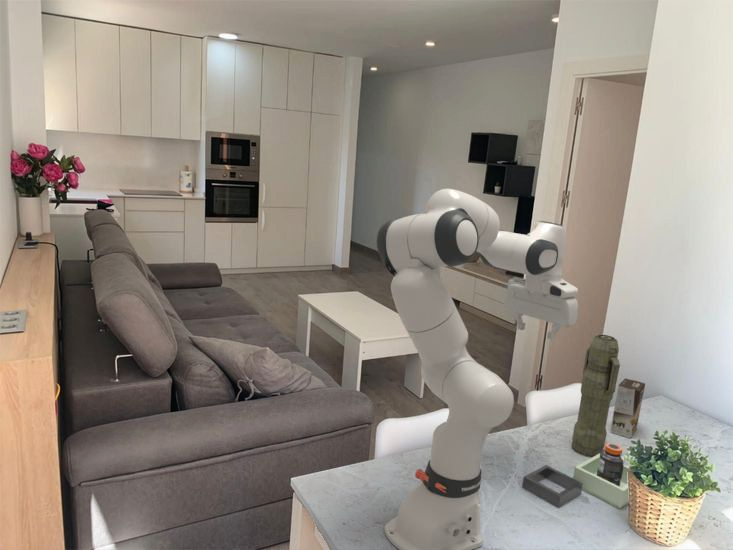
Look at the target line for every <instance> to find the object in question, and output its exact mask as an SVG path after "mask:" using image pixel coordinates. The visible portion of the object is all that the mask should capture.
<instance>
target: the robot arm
mask: <svg viewBox="0 0 733 550" xmlns="http://www.w3.org/2000/svg"><path fill="white" fill-rule="evenodd" d="M500 225H501V223H500V217H499V215H498V213H497V212H496V211H495V209H494V208H492V207H491V206H490V205H489V204H488V203H486V202H485V201H483V200H481V199H480V198H477V197H475V196H474V195H471V194H469V193H466V192H464V191H461V190H457V189H453V188H442V189H439V190H438V191H436V192H434V193H433V194H432V195H431V196H430V198H429V199H428V201H427V202H426V205H425V210H424V213H417V214H412V215H407V216H403V217H395V218H393V219H391V220H388V221H386V222H385V223H383V224H382V225H381V226H380V227H379V230H378V231H377V235H376V236H377V237H376V248H377V253H378V255H379V258H380V260H381V262H382V263H383V265H384V267H385V269H386V271H387V272H388V273H389V274H390V275H392V276H393V278H392V280H391V284H390V292H391V296H392V300H393V302H394V304H395V305H394V306H395V309H396V311H397V313H398V315H399V318H400V320H401V322H402V324H403V326H404V328H405V330H406V332H407V335H408V336H409V338H410V340H411V342H412V344H413V345H414V347H415V349H416V351H417V353H418V356H419V358H420V361H421V366H420V367H421V368H420V375H421V378H422V380H423V381H424V383H425V384H426V385H427V388H429V389H430V391H431V392H432V394H434V395H435V396H436V397H438V398H439V399H440V400H441V401H442V402H444V403H445V404H446V405H447V406H448V416H447V418H446V421H444V422H443V423H440V424H439V425H438V426H436V427H435V429H434V430H433V433H432V442H431V450H430V459H429V461H428V462H427V465H426V466H425V470H424V471H423V469H420V468H417V470H416V471H415V474H414V477H415V478H416V479H419V480H420V482H419V483H418V484H417V485H416V486H415V488H414V489H413V490H412V491H411V492H410V493H409V495H407V497H406V498H405V499H404V500H403V501H402V503H401V504H399V508H398V510H397V513H396V516H395V517H394V518H392V519H391V520H389V522H387V523H385V525H384V528H383V531H384V534H385V536H386V538H387V539H388V540H389V541H390V542H391V544H392V545H393V546H394V547H395V548H397V550H474V549H478V548H480V547H482V546H483V537H482V535H481V511H482V510H481V503H480V501H481V500H480V497H479V490H480V489H481V484H482V478H483V477H482V468H481V465H482V460H483V459H482V457H483V452H484V446H485V442H486V439H487V437H488V434H489V433H490V431H491V430H492V429H493V428H496V427H498V426H501V425H502V424H503V423H505V421H506V420H508V418H509V417H510V415H511V413H512V411H513V408H514V405H515V399H514V398H515V397H514V393H513V391H512V390H511V388H510V387H509V386H508V385H507V384H506V382H505V381H504V380H503V379H502V378H501V377H500V376H499V375H498V374H496V373H495V372H494V371H491V370H490V369H488V368H486V367H485V366H483V365H482V364H480V363H479V362H477V361H476V360H475V359H474V358H473V357H472V356H471V354H470V353H469V352H468V349H467V347H466V345H467V343H468V341H469V333H468V330H467V327H466V325H465V323H464V321H463V319H462V317H461V315H460V313H459V311H458V308H457V306H456V304H455V302H454V300H453V298H452V296H451V294H450V292H449V291H448V289H447V287H446V286H445V285H444V283H443V281H442V280H441V274H440V269H441V268H445V267H458V266H461V265H464V264H467V263H468V262H470V261H471V260H472V259H473V257H474V255H475V254H478V257H479V258H480V259H481V261H482V262H483V264H485V266H487V267H490V268H497V269H502V270H506V271H509V272H510V271H511V272H514V273H519V274H523V275H525V278H520V277H517V276H513V277H512V278H510V279H509V280H508V282H507V289H506V292H505V295H504V296H505V297H504V302H503V306H504V309H505V310H506V311H511V312H514V319H515V321H516V329H517V330H521V331H524V330H525V328H526V323H525V322H523V321H524V320H523V316H527V317H530V318H534V319H536V320H540V321H544V322H547V323H551V324H552V328H553V329H552V330H551V331H548V332H547V336H546V339H548V340H549V341H550V340H551V341H554V340H556V338H557V333H558V332H559V331H560V330H561V328H562V327H564V328H569V327H573V326H574V325H576V324H577V321H578V309H579V303H578V300H577V298H576V296H578V294H579V289H578V288H577V287H576V286H574V285H573V284H571V283H569V281H566V280H565V279H563V278H562V275H563V272H562V265H563V262H564V260H565V257H566V256H565V255H566V247H567V231H566V227H565V226H563V225H562V224H559V223H556V222H555V223H554V222H551V221H545V220H540V221H537V222H536V223H535V225H534V228H533V230H532V231H530V232H528V233H526V234H523V233H522V234H521V233H516V232H511V231H507V230H503V229H500Z"/></svg>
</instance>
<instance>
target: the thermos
mask: <svg viewBox="0 0 733 550" xmlns="http://www.w3.org/2000/svg"><path fill="white" fill-rule="evenodd" d="M589 345H590V346H589V347H588V348H587V350H586V353H585V359H584V365H583V371H582V372H583V373H582V380H581V385H580V395H581V396H580V402H579V408H578V415H577V421H576V423H575V424H574V426H573V434H572V443H571V449H572V450H573V451H574V452H576V453H577V454H579V455H581V456H583V457H588V458H592V457H594V456H596V455H598V454H599V453H601V452H602V451H603V450H604V449H605V447H606V440H607V434H608V432H607V428H606V427H607V422H608V416H609V410H610V404H611V401H612V400H613V398H614V394H615V392H616V385H617V381H618V376H619V372H620V366H621V364H620V359H618V356H619V351H620V349H619V343H618V339H616V338H615V337H613V336H612V335H608V334H607V335H606V334H598V335H595V336H594V337H593V339H592V341H591V343H590V344H589Z"/></svg>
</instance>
